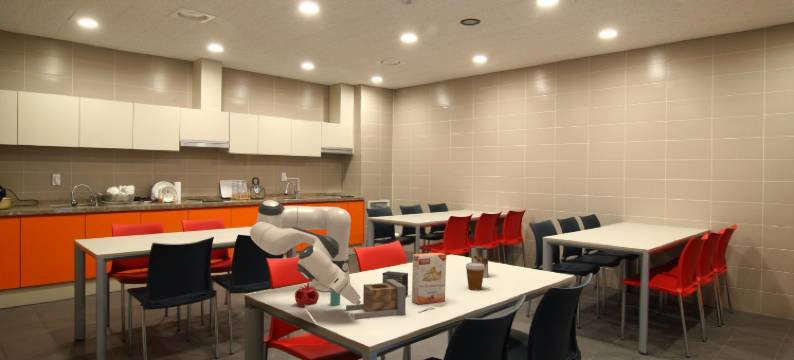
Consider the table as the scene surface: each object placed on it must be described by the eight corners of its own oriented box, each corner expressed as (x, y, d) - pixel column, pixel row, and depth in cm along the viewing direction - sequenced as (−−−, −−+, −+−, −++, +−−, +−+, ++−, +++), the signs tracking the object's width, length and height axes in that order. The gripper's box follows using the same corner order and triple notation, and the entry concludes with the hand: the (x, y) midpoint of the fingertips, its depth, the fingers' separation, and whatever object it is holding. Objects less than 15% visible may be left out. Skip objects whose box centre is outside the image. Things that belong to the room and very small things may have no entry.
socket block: (371, 316, 185) (371, 290, 185) (363, 309, 195) (363, 284, 194) (395, 313, 189) (395, 288, 189) (386, 307, 198) (387, 282, 198)
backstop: (342, 323, 179) (342, 291, 179) (333, 313, 192) (333, 283, 192) (405, 317, 188) (405, 286, 188) (392, 308, 201) (392, 279, 201)
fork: (402, 316, 191) (402, 311, 191) (441, 305, 208) (441, 301, 208) (408, 318, 189) (408, 313, 189) (447, 306, 206) (447, 302, 206)
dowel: (328, 307, 201) (328, 275, 201) (335, 305, 204) (335, 274, 204) (335, 309, 199) (335, 277, 199) (342, 307, 202) (342, 275, 202)
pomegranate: (297, 302, 210) (297, 280, 210) (320, 302, 210) (320, 280, 210) (292, 307, 200) (292, 285, 200) (316, 308, 200) (316, 285, 200)
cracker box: (418, 305, 206) (418, 256, 206) (411, 301, 211) (411, 253, 211) (446, 301, 213) (446, 253, 212) (438, 298, 218) (439, 251, 218)
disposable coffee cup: (462, 289, 235) (463, 265, 235) (467, 285, 244) (468, 262, 244) (482, 291, 231) (482, 266, 231) (486, 287, 240) (486, 263, 240)
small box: (408, 295, 223) (408, 272, 223) (402, 298, 217) (403, 275, 217) (387, 292, 228) (388, 270, 228) (381, 295, 222) (381, 272, 222)
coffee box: (487, 275, 270) (488, 246, 270) (488, 277, 264) (488, 248, 263) (471, 274, 271) (471, 246, 271) (471, 277, 265) (471, 247, 265)
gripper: (322, 280, 194) (345, 302, 197) (335, 291, 175) (360, 316, 178) (333, 268, 195) (356, 290, 199) (347, 278, 176) (372, 303, 180)
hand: (358, 303), depth 188 cm, fingers closed
